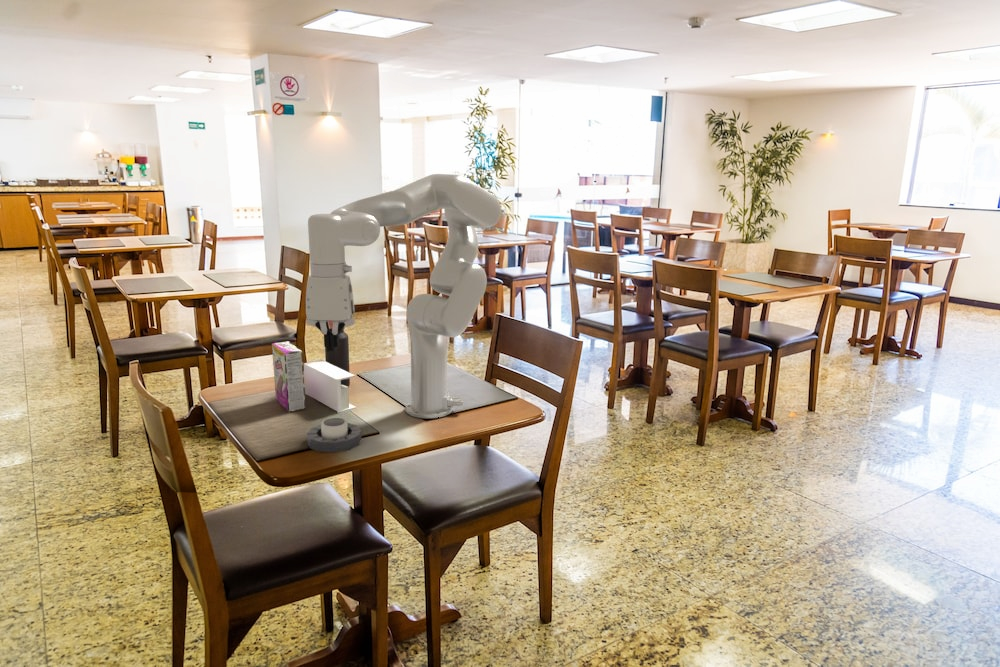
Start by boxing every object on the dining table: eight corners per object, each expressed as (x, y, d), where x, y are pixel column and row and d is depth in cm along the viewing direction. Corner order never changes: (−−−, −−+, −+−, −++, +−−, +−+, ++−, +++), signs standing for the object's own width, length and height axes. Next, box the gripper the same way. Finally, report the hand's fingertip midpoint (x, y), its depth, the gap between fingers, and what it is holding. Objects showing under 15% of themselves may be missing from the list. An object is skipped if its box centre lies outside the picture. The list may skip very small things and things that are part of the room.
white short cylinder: (350, 437, 161) (349, 417, 160) (344, 447, 155) (344, 427, 154) (325, 436, 161) (324, 416, 160) (318, 447, 155) (317, 426, 154)
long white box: (356, 408, 180) (355, 375, 177) (338, 413, 176) (336, 379, 174) (320, 389, 194) (319, 358, 192) (303, 393, 190) (301, 362, 188)
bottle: (338, 390, 193) (335, 323, 188) (321, 386, 197) (318, 320, 192) (354, 384, 199) (352, 319, 194) (338, 380, 202) (336, 316, 197)
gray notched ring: (365, 432, 164) (365, 422, 163) (354, 453, 152) (354, 442, 152) (316, 431, 164) (315, 421, 163) (301, 451, 152) (301, 441, 151)
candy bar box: (274, 400, 184) (270, 343, 180) (292, 397, 187) (289, 340, 183) (287, 412, 175) (284, 352, 171) (306, 409, 178) (303, 350, 174)
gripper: (365, 268, 152) (367, 346, 156) (299, 267, 152) (304, 345, 156) (358, 274, 144) (361, 355, 149) (289, 272, 144) (294, 354, 149)
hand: (331, 349), depth 153 cm, fingers closed
